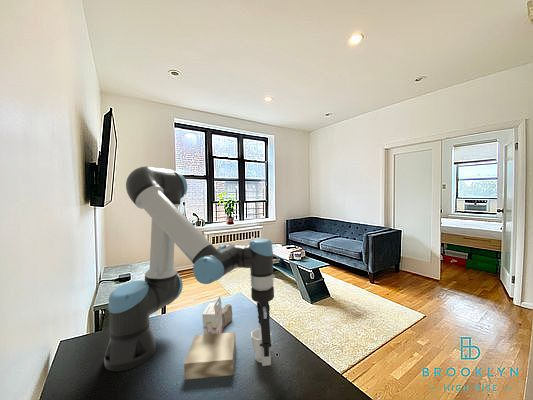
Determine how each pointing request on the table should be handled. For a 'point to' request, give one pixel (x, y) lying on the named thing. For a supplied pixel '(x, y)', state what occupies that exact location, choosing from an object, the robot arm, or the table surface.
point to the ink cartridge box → (213, 318)
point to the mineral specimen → (226, 315)
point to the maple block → (210, 356)
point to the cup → (257, 343)
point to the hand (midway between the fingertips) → (264, 353)
